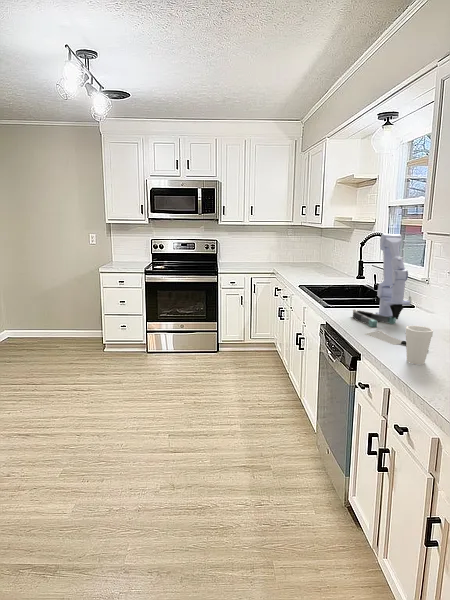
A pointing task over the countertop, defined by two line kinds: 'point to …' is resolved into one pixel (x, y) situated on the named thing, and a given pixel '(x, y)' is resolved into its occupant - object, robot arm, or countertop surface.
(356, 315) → the tongs fixed arm
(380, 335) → the kitchen cleaver
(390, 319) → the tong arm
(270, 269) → the countertop surface
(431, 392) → the countertop surface
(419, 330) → the foam cup
